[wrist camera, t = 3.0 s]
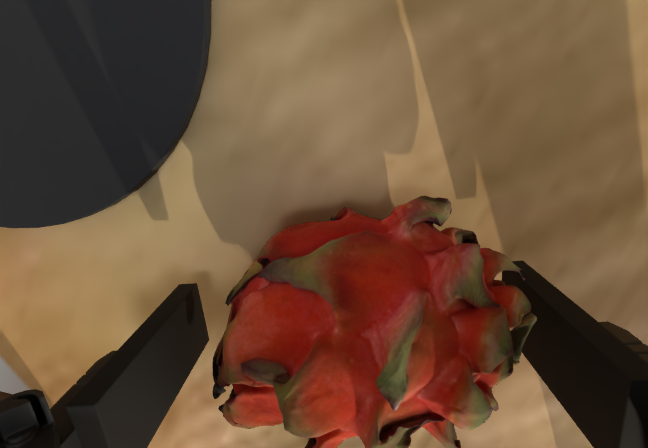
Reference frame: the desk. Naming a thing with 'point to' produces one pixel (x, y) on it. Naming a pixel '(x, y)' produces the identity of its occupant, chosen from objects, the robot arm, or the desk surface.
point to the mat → (92, 100)
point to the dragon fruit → (371, 330)
